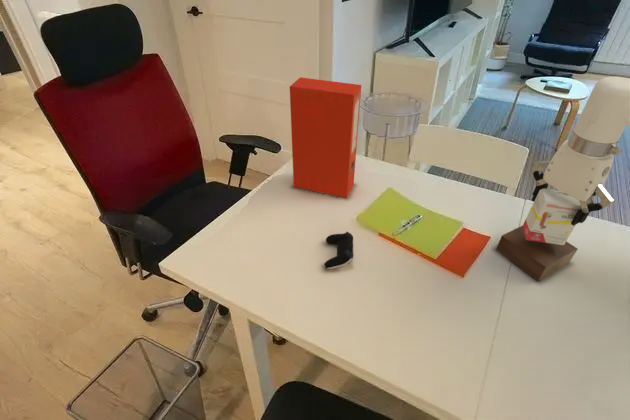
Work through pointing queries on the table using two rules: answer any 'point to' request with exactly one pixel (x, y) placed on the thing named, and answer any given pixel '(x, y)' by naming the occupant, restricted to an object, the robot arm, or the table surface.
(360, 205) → the table surface
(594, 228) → the table surface
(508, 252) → the walnut block
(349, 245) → the gaming controller
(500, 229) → the table surface
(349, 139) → the file binder
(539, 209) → the ink box
